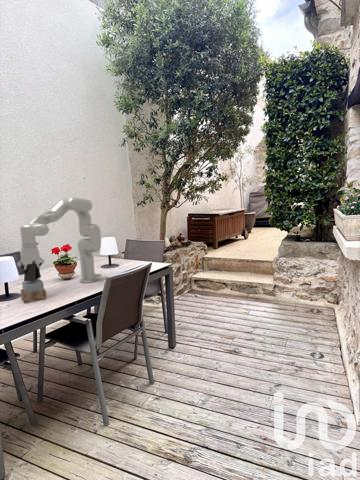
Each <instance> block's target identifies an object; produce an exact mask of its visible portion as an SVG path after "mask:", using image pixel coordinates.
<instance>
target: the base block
mask: <svg viewBox="0 0 360 480" xmlns="http://www.w3.org/2000/svg"><path fill="white" fill-rule="evenodd" d="M46 291H47V290H46V289H45V288H44V290H41V291H36V292H31V293H25V292H24V290H23V288H22V289H20V296H21V300H22V302H23V303H24V304H28V303H34V302H38V301H45V300H47V292H46Z"/></svg>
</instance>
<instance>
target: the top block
mask: <svg viewBox="0 0 360 480" xmlns="http://www.w3.org/2000/svg"><path fill="white" fill-rule="evenodd" d="M21 284H22V285H21V286H22V289H23V290H24V292H25V293H31V292H36V291H41V290H44V289H45V287H44V281H42V279H40V278H39V279H37V280H35V281H24V280H23V281H21Z"/></svg>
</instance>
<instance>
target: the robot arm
mask: <svg viewBox="0 0 360 480" xmlns="http://www.w3.org/2000/svg"><path fill="white" fill-rule="evenodd" d="M92 208H93V203H92V201H90V200H89V199H85V198H78V197H63V198H60V199H59V200H58V201H57V202H56V203H55V204H54V205H53V206H52V207H51V208H50V209H49V210H47V211H45V212H43V213H41V214H40V215H38V216H37V217H35V218H34V219H32V221H31V222H29V224H26V225H25V224H24V225H21V226H20V229H19V230H20V237H21V238H20V239H21V248H20V260H19V261H18V262H17V263H16V266H18V267H19V268H21V269H23V272H24V273H23V274H24V275H25V273H26V275H27V269H26V267H27V265H29V264H32V262H33V261H34V260H35V264H37V274H39V272H40V268H41V266H42V265H43V264H44V263H45V259H43V258H42V257H41V256H40V251H39V247H38V246H39V242H36V241H37V240H36V237H40V236H41V237H44V236H46V235H48V233H49V232H50V231H49V230H50V229H49V226H48V225H49V224H51V223H52V224H53V223H54V222H57V221H59V220H60V219H61V218H62V217H64V216H65V215H66V213H68V212H69V211H73V212H74V213H76V215H77V218H78V229H79V235H80V236H81V237H86V238H80V239H79V241H77V250H78V254H79V261H80V263H79V265H80V274H81V276H80V277H81V278H80V279H79V282H80V283H84V284H89V283H93V282H96V281H98V278H99V277H102V274H101V273H95V261H94V260H95V259H94V254H93V253H98V252H99V251H100V249H101V245H102V244H101V243H102V241H101V239H102V238H101V237H102V236H101V229H100V226H99V225H98V224H96V223H92V217H91V216H92V215H91V213H90V211H92ZM87 237H88V238H87ZM40 273H41V272H40Z"/></svg>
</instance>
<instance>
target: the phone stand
mask: <svg viewBox="0 0 360 480" xmlns="http://www.w3.org/2000/svg"><path fill="white" fill-rule="evenodd" d="M26 269H27V275H26V273H25V274H24V277H23V282H24V281H35V280H37V279H40V278H41V277H42V275H41V272H39V274H37V264H35V260H34V261H33V262H32V264H29V265H27V267H26Z"/></svg>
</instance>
